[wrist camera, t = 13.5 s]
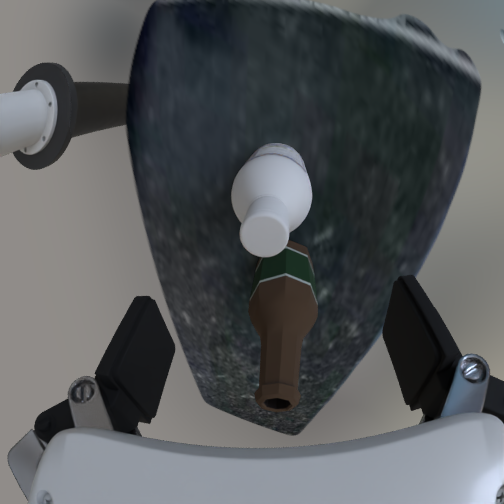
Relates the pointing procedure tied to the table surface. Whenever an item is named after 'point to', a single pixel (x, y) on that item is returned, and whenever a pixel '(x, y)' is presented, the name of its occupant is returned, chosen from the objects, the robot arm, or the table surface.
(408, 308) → the robot arm
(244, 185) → the bath foam
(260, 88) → the table surface
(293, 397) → the beer bottle
